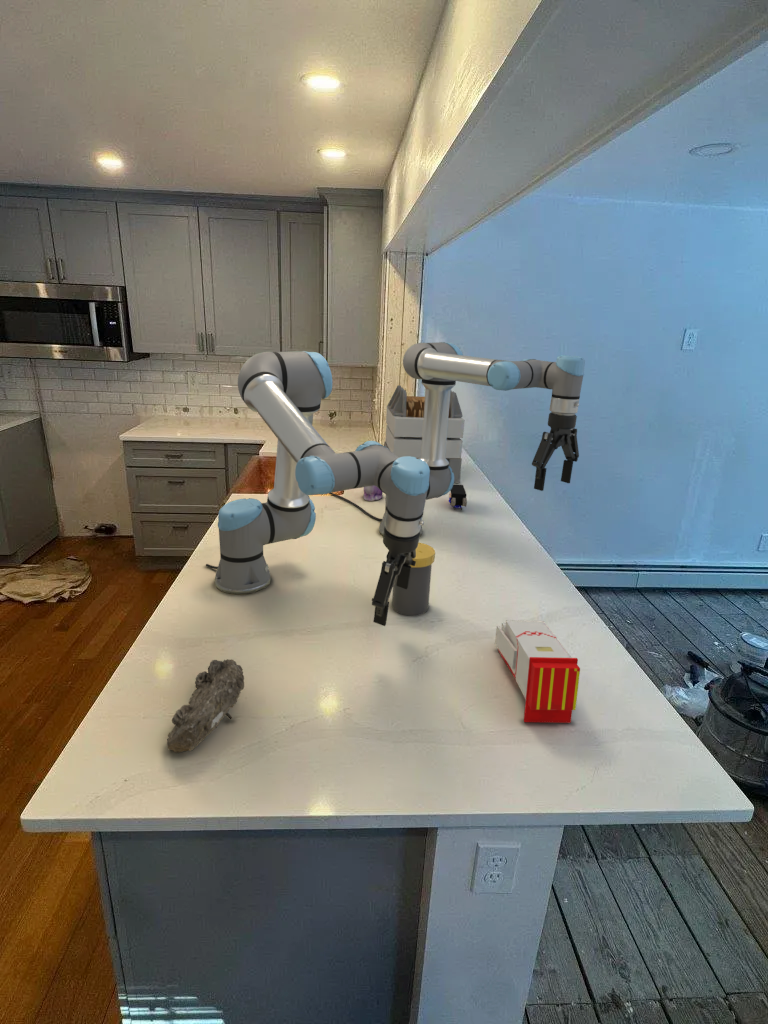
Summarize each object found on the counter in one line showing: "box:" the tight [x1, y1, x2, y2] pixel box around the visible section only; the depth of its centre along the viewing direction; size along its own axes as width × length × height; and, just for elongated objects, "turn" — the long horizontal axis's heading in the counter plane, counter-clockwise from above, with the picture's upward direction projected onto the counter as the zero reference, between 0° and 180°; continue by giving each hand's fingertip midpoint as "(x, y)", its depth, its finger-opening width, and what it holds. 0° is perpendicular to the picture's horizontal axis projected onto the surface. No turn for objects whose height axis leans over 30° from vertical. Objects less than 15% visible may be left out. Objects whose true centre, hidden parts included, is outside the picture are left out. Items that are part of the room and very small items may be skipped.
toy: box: [494, 619, 581, 724], centre depth 121 cm, size 12×13×30 cm
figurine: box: [362, 486, 384, 502], centre depth 233 cm, size 9×10×15 cm
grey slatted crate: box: [383, 384, 465, 484], centre depth 268 cm, size 34×33×41 cm
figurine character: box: [448, 483, 468, 511], centre depth 230 cm, size 7×8×15 cm
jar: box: [391, 563, 433, 617], centre depth 149 cm, size 10×10×16 cm
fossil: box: [166, 658, 245, 754], centre depth 106 cm, size 22×10×15 cm
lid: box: [410, 542, 436, 568], centre depth 146 cm, size 11×11×2 cm
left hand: (391, 604), depth 129 cm, fingers open, 13 cm apart
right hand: (552, 485), depth 166 cm, fingers open, 13 cm apart
